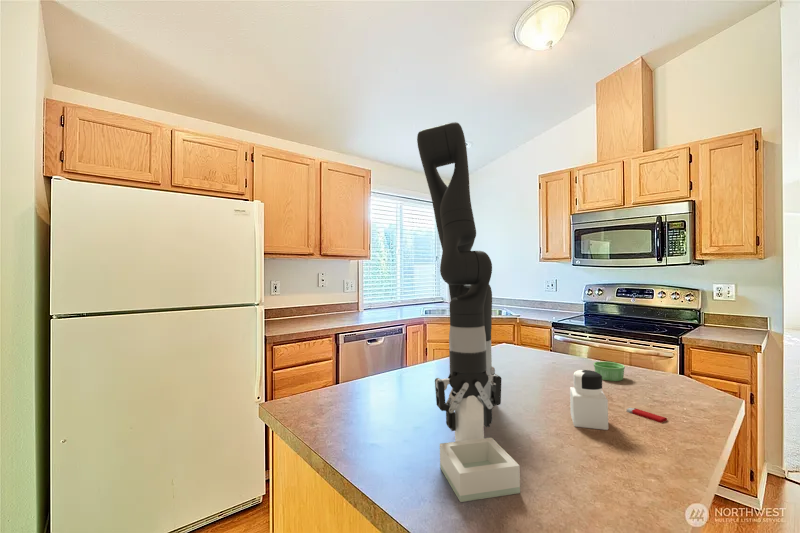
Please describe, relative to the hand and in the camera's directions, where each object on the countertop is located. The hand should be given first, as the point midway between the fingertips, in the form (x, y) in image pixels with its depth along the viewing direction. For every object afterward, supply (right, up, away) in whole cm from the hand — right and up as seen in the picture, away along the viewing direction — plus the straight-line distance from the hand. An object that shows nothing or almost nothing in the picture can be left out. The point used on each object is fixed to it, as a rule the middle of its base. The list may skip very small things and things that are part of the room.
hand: (469, 427), depth 76 cm
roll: (0, -4, 0) cm, 4 cm away
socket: (-1, -4, -11) cm, 12 cm away
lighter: (+46, -4, +15) cm, 49 cm away
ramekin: (+55, -4, +46) cm, 72 cm away
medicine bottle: (+30, -4, +11) cm, 33 cm away
